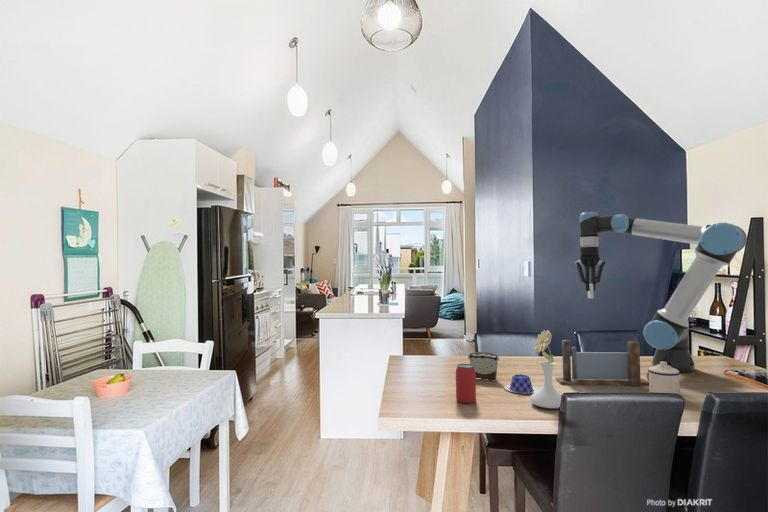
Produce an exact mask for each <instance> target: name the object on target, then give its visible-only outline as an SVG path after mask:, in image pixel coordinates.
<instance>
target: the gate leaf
mask: <svg viewBox="0 0 768 512" xmlns="http://www.w3.org/2000/svg"><path fill="white" fill-rule="evenodd" d="M571 378H572V379H612V380H628V354H627V352H620V351H619V352H617V351H616V352H613V351H612V352H611V351H610V352H609V351H607V352H605V351H604V352H602V351H600V352H599V351H595V352H594V351H579V352H578V351H577V347H576V346H572V347H571Z"/></svg>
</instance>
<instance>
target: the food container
mask: <svg viewBox="0 0 768 512" xmlns="http://www.w3.org/2000/svg"><path fill="white" fill-rule="evenodd" d="M467 359H469V364H471V365H473V366H474V369H475V374H476V378H481V379H488V380H487V381H489V380H495V381H494V382H496V381H497V373H498V372H497V371H498V361H500V358H499V355H498V353H495V352H489V351H473V352H469V354H468V356H467Z"/></svg>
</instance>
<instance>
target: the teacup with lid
mask: <svg viewBox="0 0 768 512" xmlns="http://www.w3.org/2000/svg"><path fill="white" fill-rule="evenodd" d="M680 374H681V372H679V371H678V370H677V369H675V368H672V367H671V366H669V365H667V363H666V362H660V364H658V365H656V366H652V365H651V366H649V367H648V369H647V372H646V379H647V380H646V381H648V382H649V386H648V389H649V392H662V393H678V394H680ZM680 395H681V394H680Z"/></svg>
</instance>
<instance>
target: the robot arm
mask: <svg viewBox="0 0 768 512" xmlns="http://www.w3.org/2000/svg"><path fill="white" fill-rule="evenodd" d="M578 224H579V243H580V257H579V260H577V261H575V262H574V265H575V267H576V269H577V273H578V276H579V279H580V282H581V283H582V284H583V283H584V284H585V292H587V298H588V299H590V300H591V299H594V298H595V297H594V292H595V291H596V284H598V283H600V282H601V277H602V272H603V269H604V266H605V265H606V261H603V260H601V258H600V255H599V254H600V249H599V244H600V243H599V234H602V233H604V234H605V233H617V234H623V235H624V234H625V235H632V236H637V237H638V236H639V237H645V238H652V239H653V238H654V239H658V240H665V241H671V242H672V241H673V242H678V243H685V244H691V245H696V247H695V249H694V253H695V258H694V259H693V261H692V263H691V264H690V265H689V267H688V269H687V271H686V272H685V274H684V275H683V277H682V279H681V280H680V282H679V283H678V285H677V287H676V288H675V290H674V292H673V293H672V295H671V296H670V298H669V300H668V301H667V302H666V304H665V305H664V307H663V308H661V309H658V310H657V311H655V313H654V316H653V317H652V319H651V320H650V321H649V322H648V323H646V325H645V326H644V328H643V331H642V333H643V337H644V340H645V341H646V343H647V344H648V345H649V346H650V347H652V348H655V351H654V354H653V357H652V361H651V367H652V366H656V365H658V364H660V362H666V363H667V365H669V366H671V367H672V368H675V369H677V370H678V371H679V372H680V373H690V372H691V373H692V372H694V371H695V370H696V367H695V366H696V365H695V363H694V360H693V357H692V355H691V352H690V340H689V339H690V336H689V335H690V334H689V331H690V330H689V326H690V322H689V318H690V316H691V315H692V313H693V312H694V310H695V309H696V307H697V306H698V304H699V302H700V300H701V299H702V298H703V296H704V295H705V293H706V292H707V290H708V288H709V287H710V286H711V284H712V282H713V280H714V279H715V278H716V276H717V274H718V273H719V272H720V270H721V268H722V267H723V266H728V265H730V263H731V262H732V260H733V259H734V258H735V256H736V254H737V253H738V252H741V250H743V249H744V248H745V247H746V244H747V242H748V237H747V236H748V235H747V234H746V232H745V231H744V229H742V228H741V227H740V226H738V225H736V224H734V223H728V222H718V223H714V224H705V225H704V226H701V225H694V224H685V223H677V222H670V221H660V220H652V219H644V218H638V217H637V218H636V217H631V216H630V217H629V216H628V215H627V214H625V213H622V214H618V213H617V214H609V215H608V214H607V215H599V214H598V212H596V211H590V212H589V211H587V212H582V213H580V215H579V222H578ZM582 265H583V266H584V269H583V267H582ZM597 265H598V266H597ZM596 266H597V270H596Z"/></svg>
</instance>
